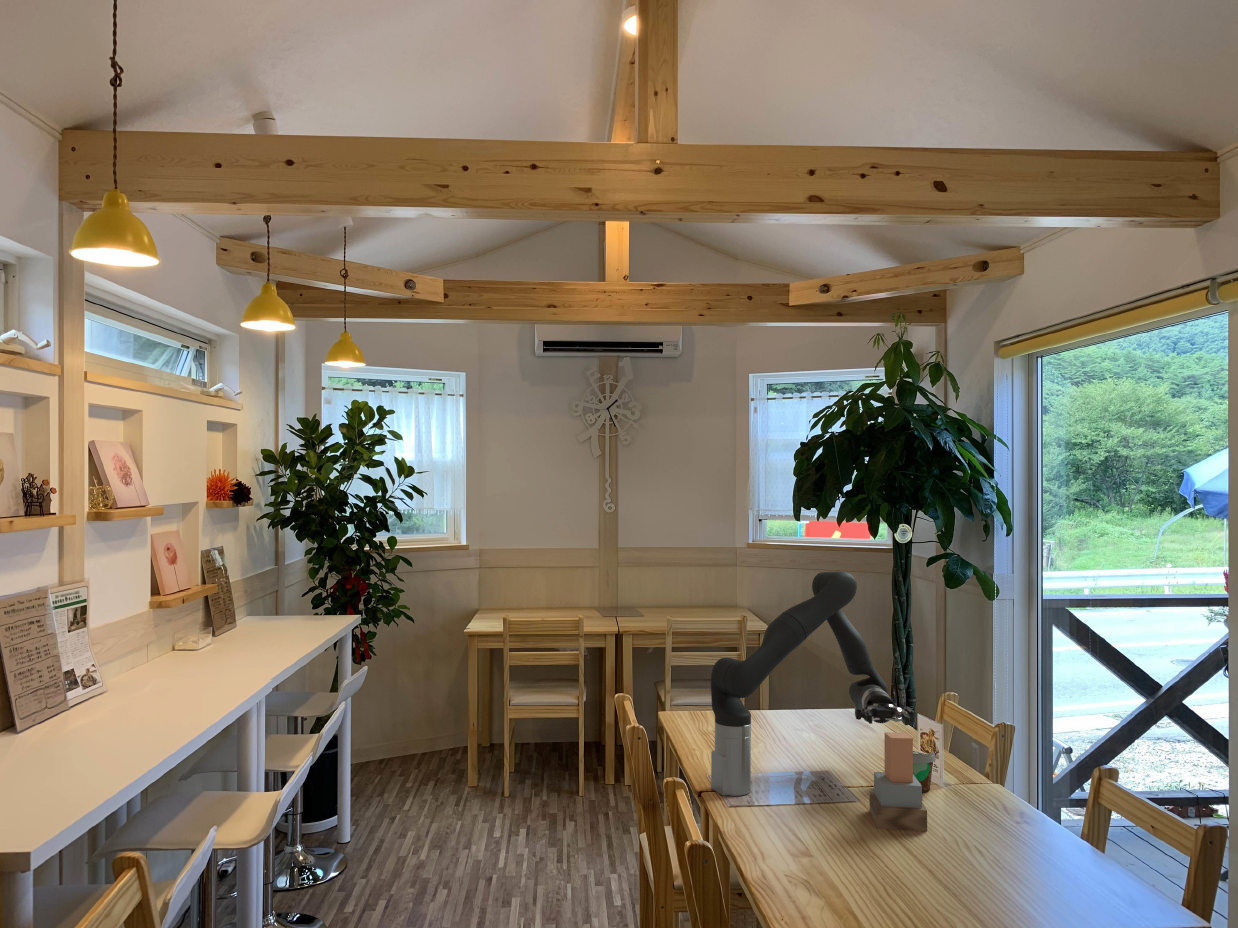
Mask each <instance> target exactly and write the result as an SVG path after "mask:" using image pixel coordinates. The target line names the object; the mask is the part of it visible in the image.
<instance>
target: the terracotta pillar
mask: <svg viewBox="0 0 1238 928" xmlns="http://www.w3.org/2000/svg"><path fill="white" fill-rule="evenodd" d="M913 751H914V737H912V736H911V735H909V734H908V733H907V732H884V772H885V776H886V777H887V778H888V779H889V780H890V781H891V782H913Z"/></svg>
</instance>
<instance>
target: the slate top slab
mask: <svg viewBox="0 0 1238 928" xmlns="http://www.w3.org/2000/svg"><path fill="white" fill-rule="evenodd" d="M873 792H874V794H875V796H876V797H877V799H878V801H879V803H880V805H881V806H886V807H907V808H922V803H923V793H922V785H921V784H920V783H919V781H918V780H917V779H916V777H915V776H914V775H913V782H891V781H890V780H889V779H888V778H887V777H886V776H885V771H874V772H873Z"/></svg>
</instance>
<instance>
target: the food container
mask: <svg viewBox="0 0 1238 928" xmlns="http://www.w3.org/2000/svg"><path fill="white" fill-rule="evenodd" d="M936 759H937V758H936V753H935V751H932V752H930V753H921V752H918V751H915V750H913V775H914V776H915V777H916V779H917V780H918V781H919V783H920V784H921V785H922V794H925V793H929V792H930V790H931V785H932V775H933V765H934V762H935V761H936Z"/></svg>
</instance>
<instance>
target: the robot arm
mask: <svg viewBox="0 0 1238 928" xmlns="http://www.w3.org/2000/svg"><path fill="white" fill-rule="evenodd" d="M857 585H858V584H857V580H856V579H855V577H854V576H853V575H852V574H851V573H849V572H846V571H838V570H837V571H822V572H819V573H817V574H816V575H815V576H814V578H813V579H812V583H811V590H812V593H813V597H811V598H809V599H807V600H804V601H802V602H799V603H797V604H794V606H791V607H790V608H788V609H786V610H784V611H783V612H781V613H780V614H779V615H778V616H777V617H776V618H775V619H774V620H773V621H771V622H770V623H769V624H768V626H767V627H766V629H765V631H764V633H763V636H762V637H763V638H762V641H761V644H760V646H759V647H758V649H757V650H756V651H754V652H753V653H752V654H751V655H750V656H748V657H747V658H746V659H743V660H740V659H736V658H732V657H722V658H718V660H717V661H716V662H715V663H714V664H713V667H712V669H711V675H710V695H711V697H710V698H711V709H712V713H713V714H714V750H712V751H711V753H710V754H711V755H710V758H711V760H710V763H711V764H710V767H711V769H710V782H711V783H710V787H711V790H713V791H715V792H716V793H718V794H719V795H721V796H732V797H733V796H735V797H736V796H745V795H746V796H747V794H750V792H751V786H752V784H751V783H752V781H751V780H752V779H751V777H752V774H751V773H752V771H751V769H752V768H751V767H752V765H751V761H752V760H751V759H752V758H751V757H752V755H751V751H752V750H751V749H752V714H751V711H750V710H749V709H748V707H746V706H745V704H744V703H743V701H742V699H744V698H748V697H749V696H750V695H752V694H753V693H754V692H755V691H756V690H757V689H758V688H759V687H760V686H761V684H763V682H764V681H765V680H766V678H767V677H769V675H770V674H771V673H772V671H774V670H775V668H777V666H778V665H780V664H781V663H782V662H783V661H784V660H785V659H786V658H787V657H788V655H790V654H791V653H792V652H794V651H795V650H796V649H797V648H798V647H799V646H800V645H802V644H803V643H804V641H805V640H807V639H808V637H809V636H810V635H812V634H813V633H814V632H815V631H816V630H817V629H819V627H820V626H821V625H822V624H823V623H824V622H825V621H827V623H828V625H829V627H830V629H831V631H832V633H833V635H834V636H835V638H836V641H837V644H838V645H839V648H840V651H841V654H842V658H843V661H844V662H845V665H846V668H847V671H848V673H850V674H851V675H853V676H859V675H860V676H864V675H866V676H868V677H866V678H862V679H859V680H856V681H854V682H852V683H851V684H850V685H849V688H848V695H849V697H850V700H851V701H852V703H854V717H855V719H856V720H858V721H859V720H862V719H863V721H865V722H867V723H868V724H870V725H872V724H873V722H874V723H876V724H885V723H888V722H890V721H893V722H896V723H899V722H901V723H902V724H903V725H904V726H909V724H911V723H915V711H914V710H913V709H912V708H911V707H909V706H908V705H907V706H904V707H903V709H902V708H901V707H898V706H896V705H895V701H894V700H893V699H892V698H891V696H890V695H889V688H888V685H887V683H886V682H885V681H884V679H883V678H882V676H881V675H880V674H879V672H878V671H877V669H876V667H875V666H874V664H873V662H872V659H871V656H870V653H869V650H868V647H867V645H866V644H867V643H866V642H865V640H864V638H863V637H862V636H861V634H860V633H859V631H858V630H857V628H856V627H855V626H854V625H853V624H852V623H851V621H850V620H849V619H848V617H847V616H846V614H845V612H844V610H843V609H844V608H845V607H846V606H847V605H848V604H850V603H851V601H852V600H853V599H854V598H855V596H856V594H857V590H858V586H857Z"/></svg>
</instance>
